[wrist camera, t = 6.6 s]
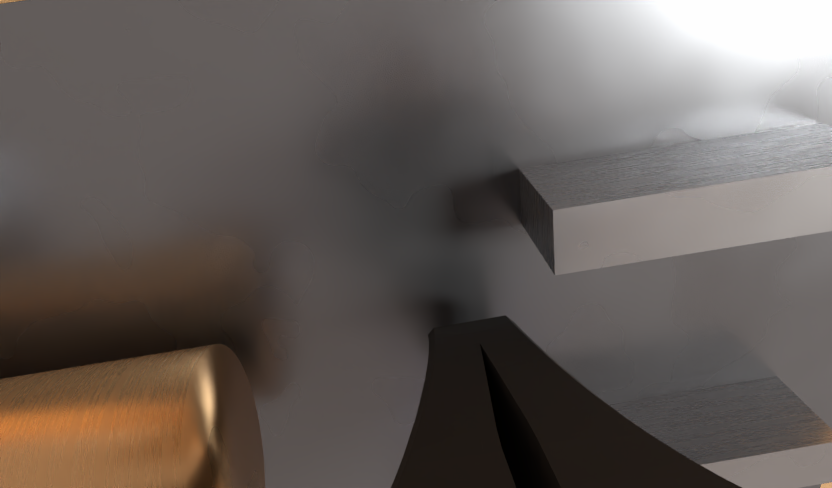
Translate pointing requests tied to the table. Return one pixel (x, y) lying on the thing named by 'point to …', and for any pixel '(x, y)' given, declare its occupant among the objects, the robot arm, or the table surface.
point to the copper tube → (133, 424)
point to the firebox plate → (432, 209)
